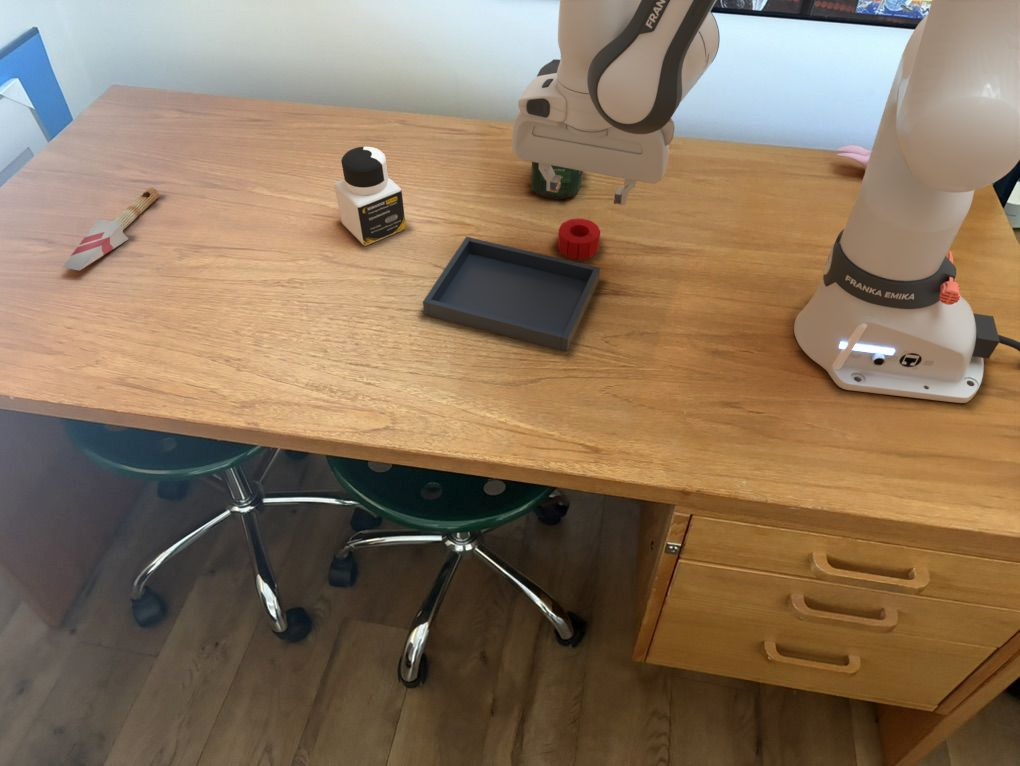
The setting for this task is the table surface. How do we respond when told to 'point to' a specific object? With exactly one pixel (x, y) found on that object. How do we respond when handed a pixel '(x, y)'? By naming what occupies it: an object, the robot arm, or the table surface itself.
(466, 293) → the tray
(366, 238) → the medicine bottle
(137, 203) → the garden trowel
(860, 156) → the rabbit figure
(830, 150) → the table surface
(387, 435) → the table surface
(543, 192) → the coffee jar
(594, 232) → the ring
